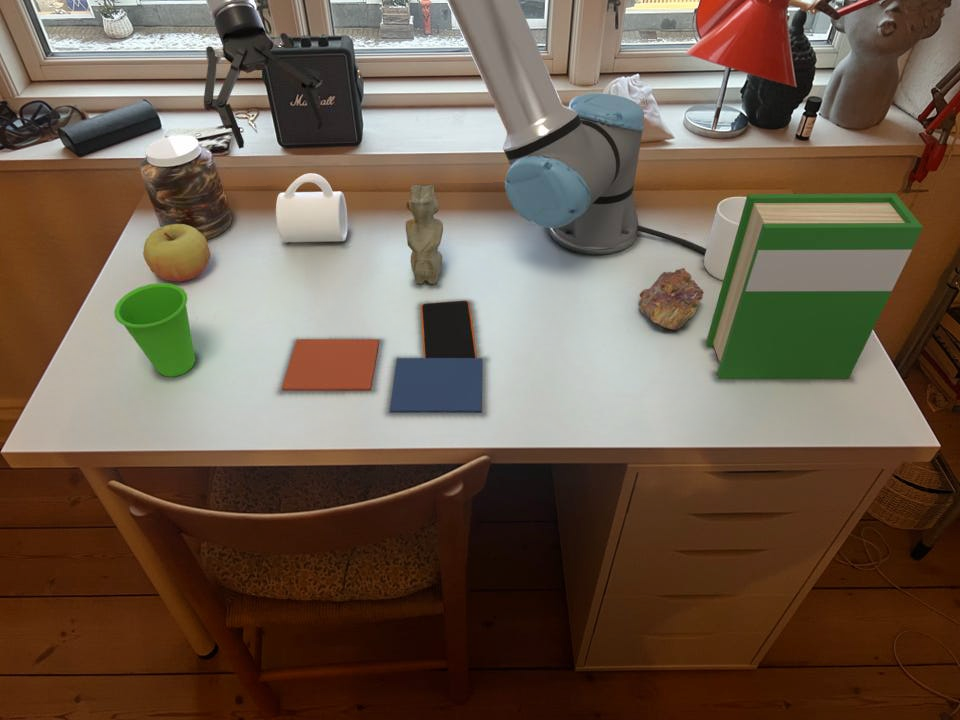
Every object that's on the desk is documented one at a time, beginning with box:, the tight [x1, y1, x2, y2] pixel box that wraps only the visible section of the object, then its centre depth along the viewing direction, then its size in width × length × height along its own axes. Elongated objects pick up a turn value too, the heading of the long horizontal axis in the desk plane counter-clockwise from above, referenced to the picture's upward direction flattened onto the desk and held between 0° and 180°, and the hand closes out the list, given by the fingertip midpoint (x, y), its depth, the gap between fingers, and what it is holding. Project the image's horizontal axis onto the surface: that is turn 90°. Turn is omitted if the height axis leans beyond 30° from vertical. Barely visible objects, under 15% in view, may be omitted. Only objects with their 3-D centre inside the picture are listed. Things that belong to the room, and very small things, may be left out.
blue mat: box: [389, 357, 483, 413], centre depth 95 cm, size 12×10×1 cm
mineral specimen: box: [637, 267, 705, 331], centre depth 104 cm, size 12×8×7 cm
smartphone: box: [420, 300, 478, 358], centre depth 102 cm, size 8×17×1 cm, turn 6°
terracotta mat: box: [281, 338, 380, 391], centre depth 98 cm, size 12×10×1 cm
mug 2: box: [703, 196, 747, 282], centre depth 109 cm, size 9×12×11 cm
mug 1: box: [275, 172, 348, 243], centre depth 117 cm, size 8×10×12 cm
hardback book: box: [705, 193, 924, 380], centre depth 90 cm, size 18×7×24 cm, turn 89°
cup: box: [113, 282, 196, 378], centre depth 95 cm, size 9×9×11 cm
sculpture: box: [405, 184, 444, 285], centre depth 108 cm, size 6×7×15 cm
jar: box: [139, 135, 233, 241], centre depth 120 cm, size 12×12×15 cm
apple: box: [142, 224, 211, 283], centre depth 112 cm, size 10×10×8 cm
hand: (281, 135), depth 118 cm, fingers open, 13 cm apart
